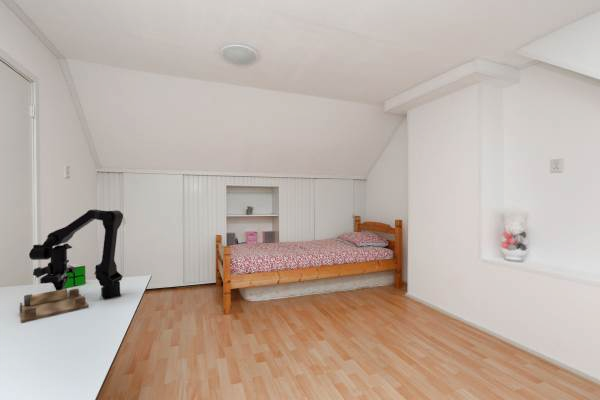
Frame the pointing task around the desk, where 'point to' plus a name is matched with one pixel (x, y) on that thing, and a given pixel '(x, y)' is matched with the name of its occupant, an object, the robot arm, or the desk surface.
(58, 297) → the hinged leg
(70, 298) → the seat
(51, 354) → the desk surface
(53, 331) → the desk surface
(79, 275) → the puzzle cube
